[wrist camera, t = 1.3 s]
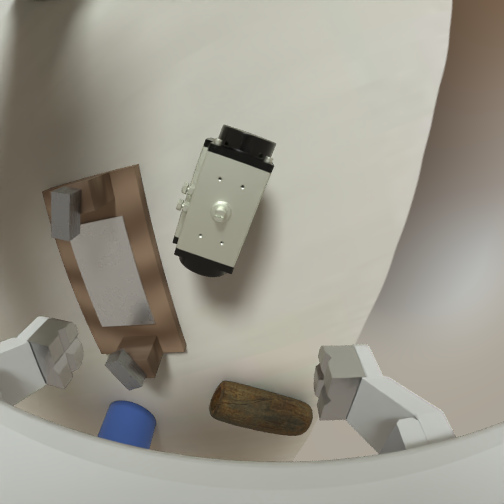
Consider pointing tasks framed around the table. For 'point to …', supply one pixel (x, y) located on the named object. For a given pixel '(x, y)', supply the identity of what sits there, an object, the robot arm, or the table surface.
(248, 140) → the pneumatic valve
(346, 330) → the table surface
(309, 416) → the brown wooden cylinder
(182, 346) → the shaft rig base
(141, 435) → the water bottle
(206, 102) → the table surface
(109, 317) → the grey long bracket
